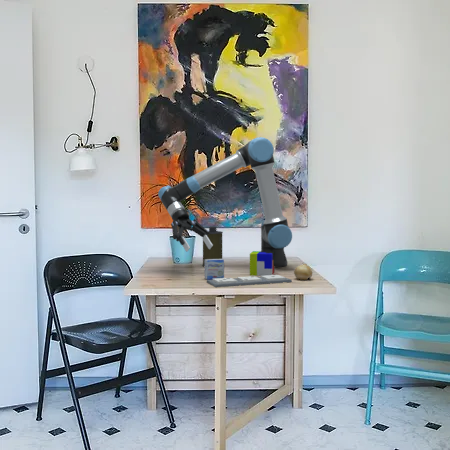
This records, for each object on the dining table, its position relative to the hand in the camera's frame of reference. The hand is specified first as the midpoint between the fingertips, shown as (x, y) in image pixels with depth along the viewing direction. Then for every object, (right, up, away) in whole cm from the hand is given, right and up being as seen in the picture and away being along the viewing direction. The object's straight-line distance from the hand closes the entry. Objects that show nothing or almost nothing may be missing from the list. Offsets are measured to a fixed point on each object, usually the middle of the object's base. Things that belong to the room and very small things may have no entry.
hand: (199, 248), depth 253 cm
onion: (+45, -13, -7) cm, 48 cm away
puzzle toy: (+28, -12, +8) cm, 32 cm away
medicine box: (+7, -13, -5) cm, 16 cm away
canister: (+5, -10, +36) cm, 37 cm away
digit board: (+22, -14, -14) cm, 29 cm away
